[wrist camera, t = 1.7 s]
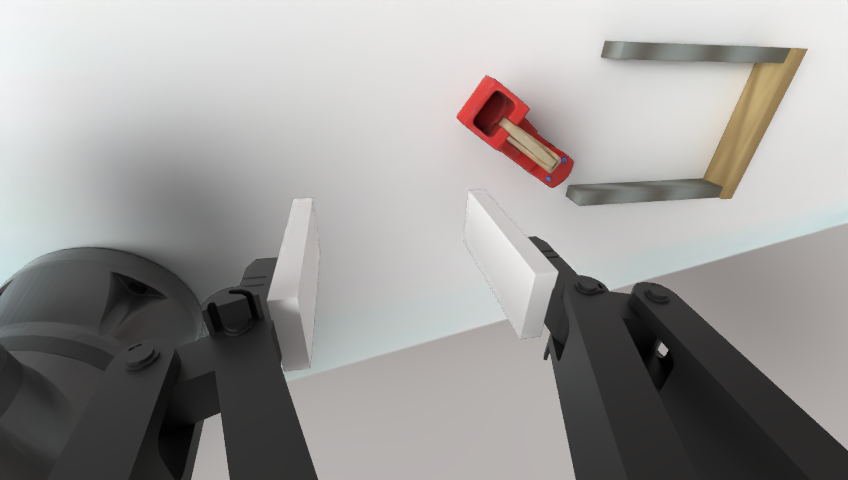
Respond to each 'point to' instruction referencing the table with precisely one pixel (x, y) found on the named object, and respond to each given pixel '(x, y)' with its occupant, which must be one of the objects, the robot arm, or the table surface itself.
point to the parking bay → (740, 132)
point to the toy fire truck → (513, 132)
